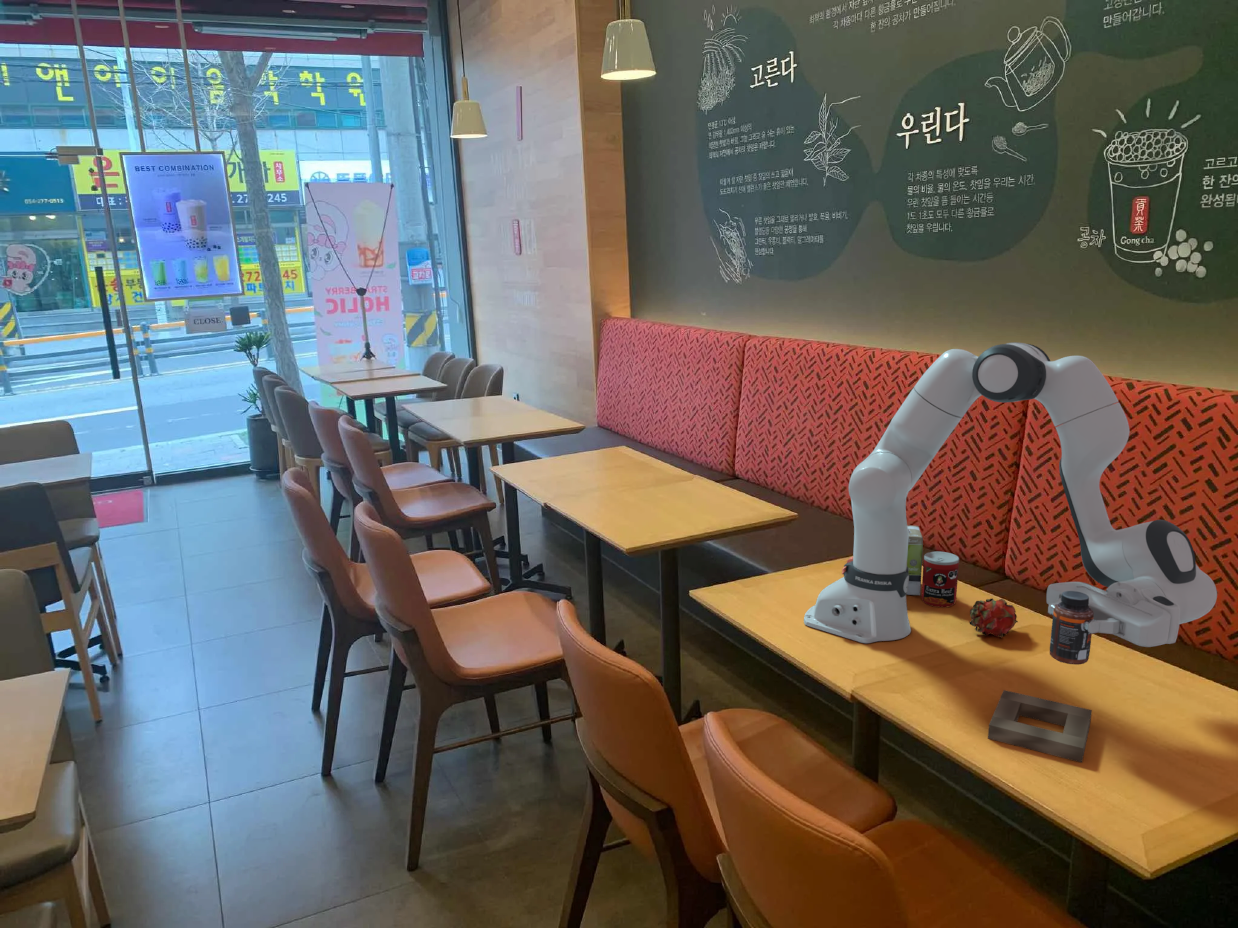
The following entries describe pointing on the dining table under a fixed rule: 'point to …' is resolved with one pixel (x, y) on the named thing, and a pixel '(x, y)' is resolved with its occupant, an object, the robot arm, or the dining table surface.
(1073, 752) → the walnut socket block
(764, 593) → the dining table surface
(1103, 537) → the robot arm
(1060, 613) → the supplement bottle
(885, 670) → the dining table surface
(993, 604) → the dragon fruit
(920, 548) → the tea box
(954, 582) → the canned food
